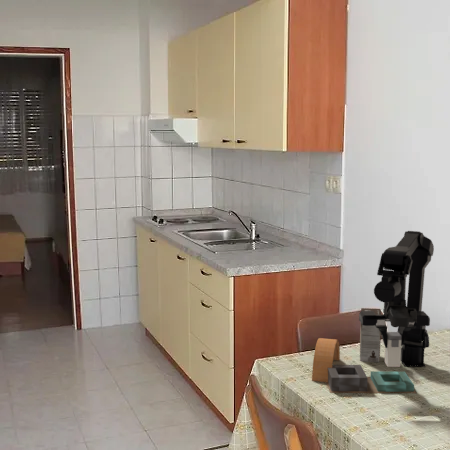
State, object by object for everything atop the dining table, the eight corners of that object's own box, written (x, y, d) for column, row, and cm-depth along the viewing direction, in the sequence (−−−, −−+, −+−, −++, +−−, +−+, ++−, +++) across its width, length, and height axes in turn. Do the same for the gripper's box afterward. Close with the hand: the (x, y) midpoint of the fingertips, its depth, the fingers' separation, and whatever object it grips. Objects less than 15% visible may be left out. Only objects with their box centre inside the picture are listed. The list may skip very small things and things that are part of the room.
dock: (405, 380, 185) (405, 363, 184) (416, 396, 173) (417, 379, 172) (324, 379, 185) (324, 363, 185) (329, 396, 174) (330, 378, 173)
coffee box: (359, 354, 207) (360, 307, 205) (379, 355, 206) (380, 308, 203) (359, 364, 198) (361, 315, 196) (380, 365, 197) (382, 316, 195)
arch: (340, 361, 199) (341, 331, 198) (331, 385, 181) (331, 352, 179) (322, 359, 201) (322, 329, 200) (311, 383, 182) (311, 350, 181)
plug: (397, 362, 180) (398, 331, 179) (400, 367, 176) (402, 336, 174) (384, 362, 180) (385, 331, 179) (388, 367, 176) (389, 336, 174)
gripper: (367, 301, 167) (365, 357, 170) (437, 301, 167) (434, 357, 169) (359, 291, 179) (357, 343, 181) (424, 291, 178) (422, 344, 180)
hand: (392, 347), depth 177 cm, fingers closed on plug, 4 cm apart
